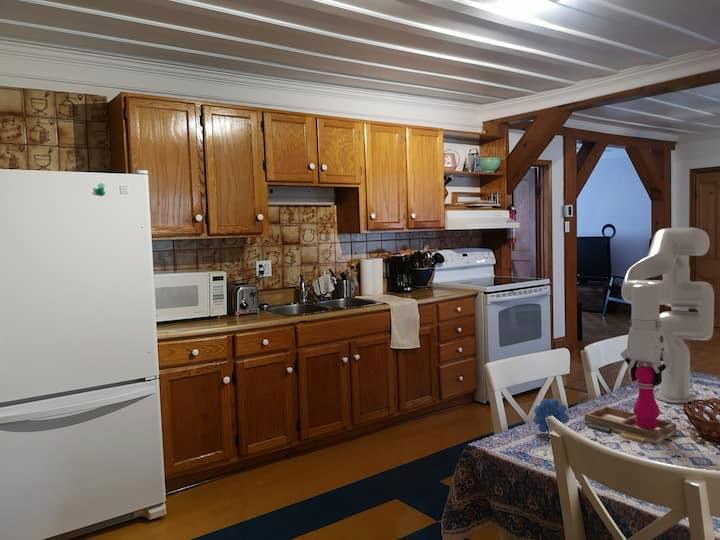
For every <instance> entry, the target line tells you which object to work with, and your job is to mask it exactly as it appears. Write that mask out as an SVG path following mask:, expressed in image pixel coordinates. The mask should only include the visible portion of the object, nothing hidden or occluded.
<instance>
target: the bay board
mask: <svg viewBox="0 0 720 540" xmlns="http://www.w3.org/2000/svg"><path fill="white" fill-rule="evenodd" d="M635 418H636V415H635V414H634V412H633V411H632V412H631V411H627V410H622V409H619V408H615V407H610V406H607V405H605V406H602V407H599V408H597V409H595V410H592V411H590V412H589V411H588V412H587V413H584V424H586V427H587V428H589V429H592V430H593V429H594V430H596V431H599V432H603V433H606V434H609V433H611V432H614V433H617V432H618V433H617V434H619V437H620V438H623V439H628V440H630V441H634V442H637V443H640V444H644V443H645V444H646V442H649V443H653V444H657V443H660V442H662V441H664V440H665V439H667V438H670V437H671V436H673V435H675V434H677V423H675V422H672V421H667V420H664V419H660V418H656V419H657V420H658V427H657V428H654V429H646V428H641V427H638V426H636V425H635Z"/></svg>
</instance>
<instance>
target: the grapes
mask: <svg viewBox="0 0 720 540" xmlns="http://www.w3.org/2000/svg"><path fill="white" fill-rule="evenodd" d="M533 412H534V414H535V416H534V417H533V422H534V423H535V425H538V431H540V432H541V433H543V432H544V433H547V434H548V433H549V427H548V425H547V422H546V421H545V420H546V419H545V418H547V417H548V416H551V415H553V416H554V417H555V418H556V419H557V420H559V421H560V422H562V423H563V424H564V425H565V426H566V424H567V423H568V422H569V421H570V416H569V415H568V414H567V413H566V412H567V406H566V405H565V404H564V403H560V402H559V400H558V399H557V398H555V397H553V398H551V399H550V400H549V399H548V398H543V399H541V400H540V403H539V405H538V404H537V405H536V406H535V407H534V410H533Z"/></svg>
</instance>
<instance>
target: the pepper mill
mask: <svg viewBox="0 0 720 540" xmlns="http://www.w3.org/2000/svg"><path fill="white" fill-rule="evenodd" d="M637 367H638V368H637V369H636V371H635V377H636V378H637V380H636V386H637V388H638V395H637V396H638V397H637V399H636V400H635V403H634V404H633V407H632V408H633V411H632V413H634V414H635V415H636V418H635V425H636V426H638V427H641V428H646V429H654V428H657V427H658V420H657V419H658V417H660V415H661V414H660V408H659V405H658V403H657V401H656V398H655V393H654V389H655V388H656V386H654V385H653V373H654V372H655V370H654V367H652V366H650V363H648V362H642V365H641V366H637Z"/></svg>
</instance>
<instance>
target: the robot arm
mask: <svg viewBox="0 0 720 540" xmlns="http://www.w3.org/2000/svg"><path fill="white" fill-rule="evenodd" d="M710 243H711V241H710V237H709V235H708V233H707V232H706V231H705V230H703V229H700V228H697V227H667V228H662V229H661V228H660V229H659V230H658V231H656V232H655V233H654V235H653V238H652V240H651V244H650V247H649V250H648V254H647V256H646V257H644V258H642V259H641V260H639V261H637V262H636V263H635V264H633V265H632V266H630V268H628V270H627V271H626V274H625V275H624V279H623V281H622V286H621V291H620V292H621V294H620V295H621V297H622V299H623V300H624V301H625V302H626V303H628V304H631V327H629V330H628V335H627V343H626V344H627V345H626V349H624V350H623V351H622V352H621V353H620V356H621V357H622V359H623V360H625V363H626V364H627V365H628V368H629V369H630V377H631V382H637V381H638V380H637V378H636V377H635V371H636V369H637V368H638V367H639V366H638V365H639V363H640V362H642V363H643V362H648V363H649V364H651V365H652V366H653V367H652V368H654V370H655V372H654V373H653V385H654V386H655V387H656V386H657V387H658V386H659V390H658V391H656V392H654V398H655V399H657V400H659V401H662V402H666V403H671V404H689V403H688V402H691V403H692V401H693V402H694V401H696V398H695V397H696V396H694V395H693V394H692V393H691V391H690V390H692V389H693V388H694V386H693V384H692V383H691V380H690V375H691V374H690V373H691V372H690V370H691V369H690V366H691V365H690V364H691V363H690V362H691V361H690V360H691V359H690V357H691V356H690V355H691V354H690V350H689V347H688V345H687V344H686V343H685V342H684V340H693V341H709V340H710V339H711V338H712V337H713V334H714V325H715V324H714V320H715V319H714V318H715V317H714V316H715V293H714V289H713V286H712V284H710V283H709V282H706V281H692V280H691V279H690V278H691V267H690V265H689V263H688V261H686V260H685V259H684V257H682V256H695V257H696V256H705V255H706V254H707V253H708V252H709V249H710ZM661 275H662V280H658V279H657V280H656V279H655V280H654V279H650V278H655V277H658V276H661ZM662 305H665V306H667V307H671V308H675V309H676V308H677V309H678V308H680V309H681V308H682V309H694V310H695V309H696V310H697V311H698V312H693V311H692V312H691V311H677V310H675V311H674V310H670V311H669V310H667V311H662V312H661V313H660V306H662Z"/></svg>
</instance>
